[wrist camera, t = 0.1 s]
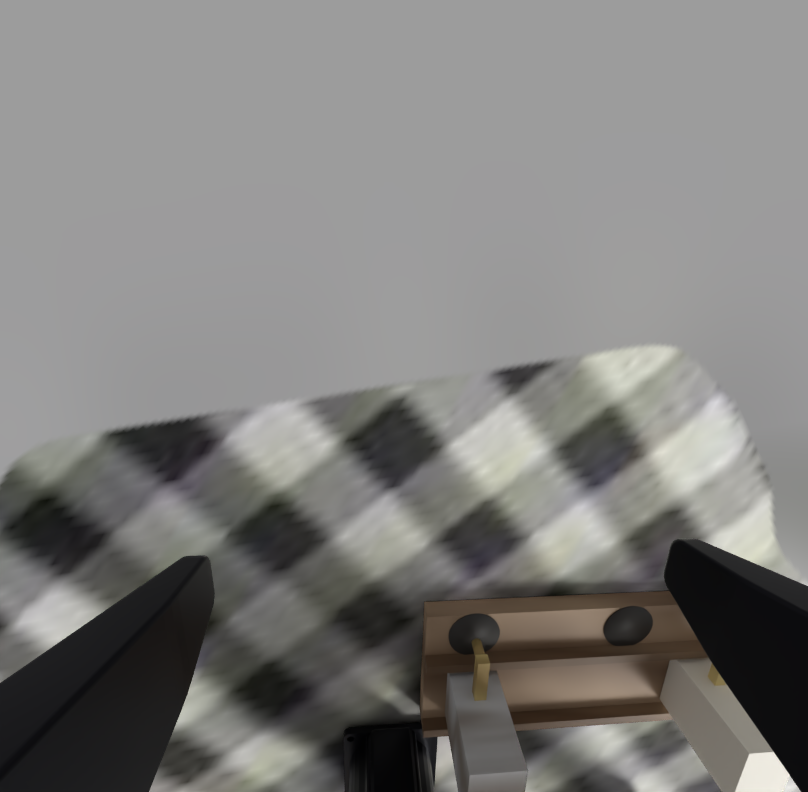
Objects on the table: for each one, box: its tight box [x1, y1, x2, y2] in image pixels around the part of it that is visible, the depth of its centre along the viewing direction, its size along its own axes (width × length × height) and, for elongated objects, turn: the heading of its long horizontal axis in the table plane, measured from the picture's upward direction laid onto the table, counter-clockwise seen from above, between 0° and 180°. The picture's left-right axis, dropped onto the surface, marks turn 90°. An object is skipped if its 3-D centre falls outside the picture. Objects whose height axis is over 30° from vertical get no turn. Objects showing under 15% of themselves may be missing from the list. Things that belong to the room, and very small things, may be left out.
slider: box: [659, 658, 790, 792], centre depth 25 cm, size 7×3×6 cm, turn 179°
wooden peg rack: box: [420, 591, 709, 792], centre depth 25 cm, size 9×20×7 cm, turn 89°
